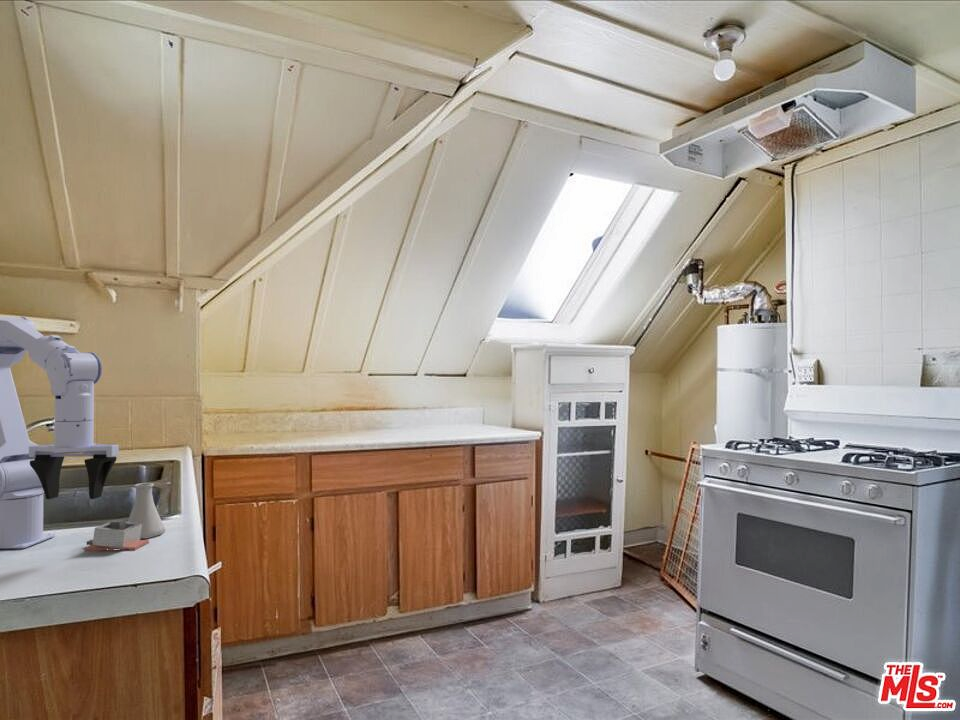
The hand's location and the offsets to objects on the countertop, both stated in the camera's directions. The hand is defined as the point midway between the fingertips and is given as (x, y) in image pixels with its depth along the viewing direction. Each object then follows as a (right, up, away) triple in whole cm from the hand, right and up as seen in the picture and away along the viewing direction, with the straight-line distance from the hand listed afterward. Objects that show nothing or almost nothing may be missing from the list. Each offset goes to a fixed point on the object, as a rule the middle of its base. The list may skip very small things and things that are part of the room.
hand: (73, 497), depth 102 cm
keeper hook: (+5, -10, +4) cm, 12 cm away
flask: (+5, -10, +12) cm, 17 cm away
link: (+5, -9, +4) cm, 11 cm away
